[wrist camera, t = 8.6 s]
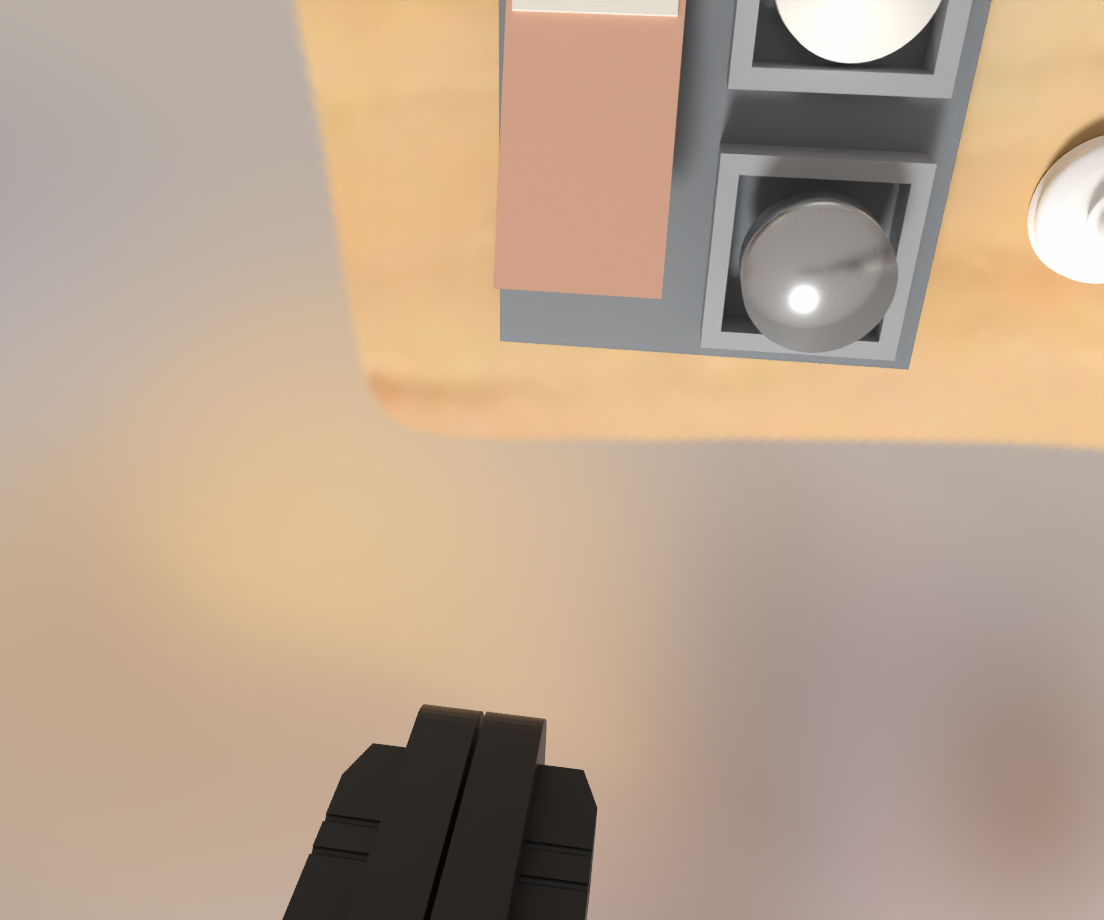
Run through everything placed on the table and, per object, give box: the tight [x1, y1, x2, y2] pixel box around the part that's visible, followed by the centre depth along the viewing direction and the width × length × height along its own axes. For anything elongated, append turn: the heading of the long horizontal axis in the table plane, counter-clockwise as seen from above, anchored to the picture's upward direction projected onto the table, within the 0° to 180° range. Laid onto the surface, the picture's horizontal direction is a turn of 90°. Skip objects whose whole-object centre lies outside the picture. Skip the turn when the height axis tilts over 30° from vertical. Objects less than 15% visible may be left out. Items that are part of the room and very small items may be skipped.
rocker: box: [494, 0, 686, 299], centre depth 28 cm, size 5×10×1 cm, turn 179°
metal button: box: [739, 190, 898, 353], centre depth 29 cm, size 4×4×2 cm
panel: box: [499, 0, 991, 369], centre depth 30 cm, size 14×16×4 cm
